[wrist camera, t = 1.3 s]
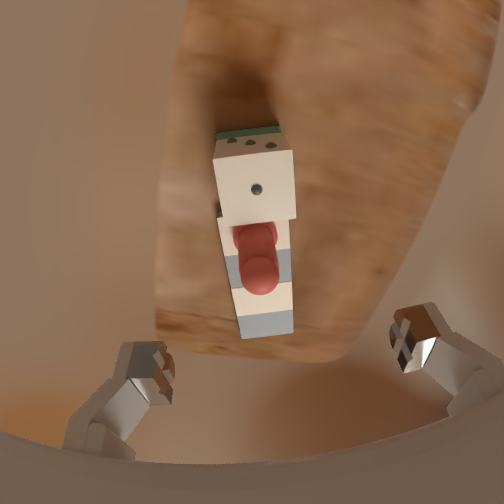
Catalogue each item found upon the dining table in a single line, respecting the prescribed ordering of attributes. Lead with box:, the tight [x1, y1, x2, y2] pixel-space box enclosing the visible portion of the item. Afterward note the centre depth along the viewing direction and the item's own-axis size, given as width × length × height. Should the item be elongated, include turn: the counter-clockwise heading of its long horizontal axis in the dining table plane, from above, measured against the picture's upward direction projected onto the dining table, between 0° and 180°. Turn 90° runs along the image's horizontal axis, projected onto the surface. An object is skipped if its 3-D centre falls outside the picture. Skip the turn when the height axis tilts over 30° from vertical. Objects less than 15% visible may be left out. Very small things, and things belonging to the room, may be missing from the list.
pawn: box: [233, 221, 279, 295], centre depth 24 cm, size 4×4×7 cm
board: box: [217, 212, 293, 339], centre depth 31 cm, size 16×6×1 cm, turn 6°
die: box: [213, 132, 296, 227], centre depth 22 cm, size 6×5×5 cm
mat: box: [216, 125, 281, 140], centre depth 24 cm, size 6×5×1 cm
